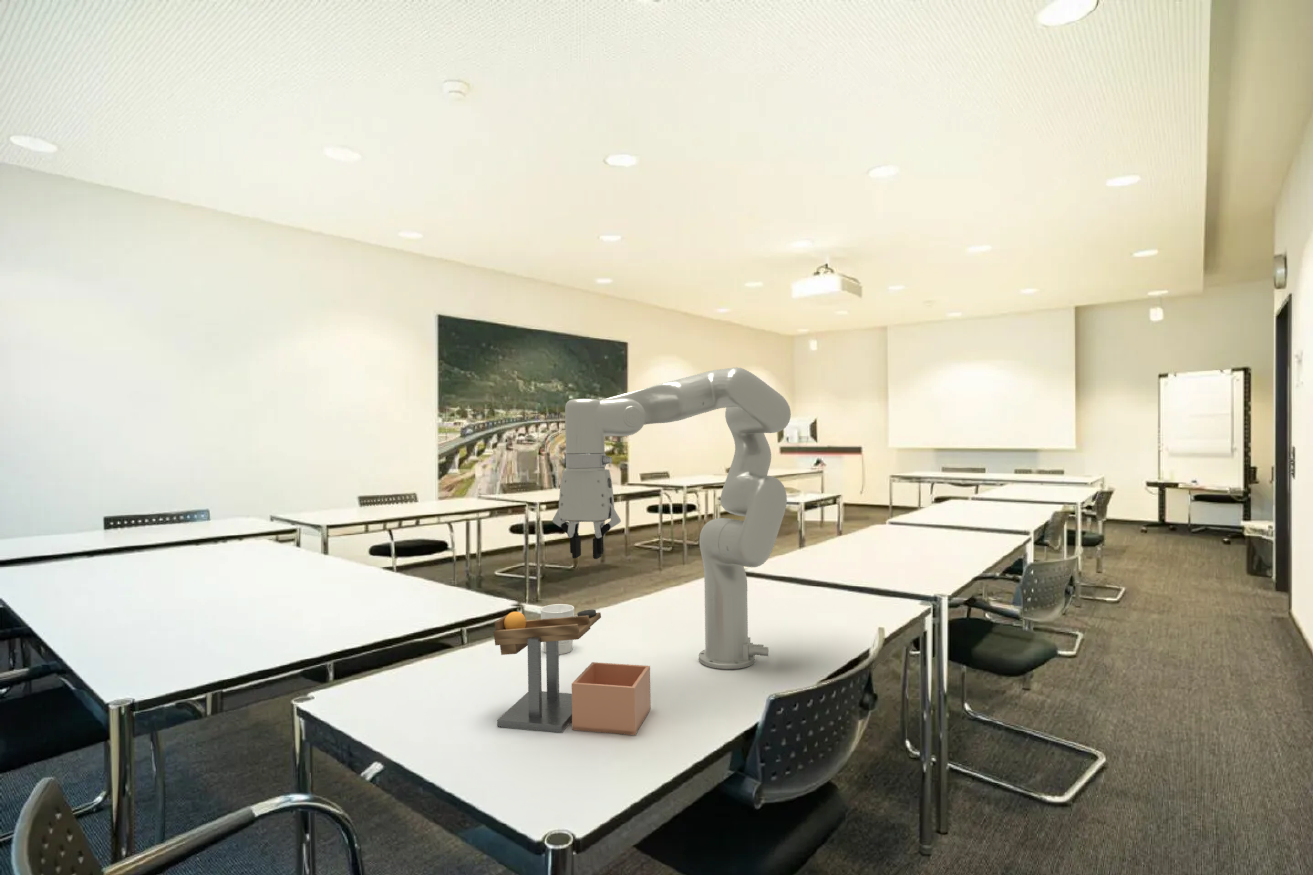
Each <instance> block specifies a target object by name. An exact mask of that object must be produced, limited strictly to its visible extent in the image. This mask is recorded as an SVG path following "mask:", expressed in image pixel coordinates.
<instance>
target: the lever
mask: <svg viewBox="0 0 1313 875" xmlns="http://www.w3.org/2000/svg"><path fill="white" fill-rule="evenodd" d="M507 615H508V614H506V615H503V617H501V618H499V619H497V620H495V621H494V628H495V630H494V631H493V638H494V646H499V647H500V655H501V656H503V655H504V656H505V655H516V654H518V653H520V652H521V651H522V650H523V649H525V648H527V647H528V638H530V637H538V638H541V643H543V642H549V641H563V640H573V641H575V640H579V639H581V638H583V636H584V635H585V634H586V633H587V632H589V631H590V630H591V627H592V626H593V625H595V623H597V621H599V620H600V619H601V618H602V613H601V612H600V611H599V612H597V609H585V610H581V611H578V612H577V615H576V616H575V615H574V617H561V618H549V619H541V618H540V619H526V626H525V628H520V629H507V630H506V629H505V626H504V620H505V618H506V616H507Z"/></svg>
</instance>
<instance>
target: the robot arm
mask: <svg viewBox="0 0 1313 875" xmlns="http://www.w3.org/2000/svg"><path fill="white" fill-rule="evenodd" d="M719 409H725V411H724V412H725V416H724V417H725V421H726V422H725V423H726V424H727V426H728V429H729V430H730V433H731V435H732V438H733V441H734V449H735V450H734V454H733V458H732V461H731V464H730V467H729V470H728V472H727V476H726V478H725V481H724V485H723V487H722V490H721V495H720V505H721V508H723V510H724V511H725V512H727V513H728V514H731V515H735V516H739V517H744V520H740V519H735V518H734V519H733V518H727V517H719V518H718V517H717V518H713V519H711V520H709V521H707V522H706V523H705V524H704V525H703V527H702V529H701V530H700V533H699V542H698V543H699V550H700V554H701V559H702V565H703V574H704V576H703V582H704V635H705V636H704V640H705V642H704V644H705V645H704V647H705V649H702V650H701V651H700V652H699V653H698V661H699V662H700V663H701V664H702V665H703V666H706V667H709V668H713V669H720V670H721V669H722V670H735V669H736V670H737V669H743V668H747V667H750V666H751V665H753V664H755V662H756V656H760V657H769V647H768V646H764V644H755V643H753V642H751V639H752V638H751V637H749V627H748V626H749V624H748V623H749V622H748V616H749V615H748V614H749V613H748V610H749V608H748V577H747V574H746V570H745V567H747V568H758V567H760V566H762V565H764V564H765V563H766V562H767V561H768V559H769V558H770V556H771V554H772V553H773V549H774V547H775V544H776V540H777V537H778V536H779V535H778V534H779V531H780V528H781V526H782V521H783V520H784V516H785V513H786V509H787V504H788V503H787V501H788V499H787V498H788V497H787V496H788V494H787V490H786V488H785V486H784V483H782V481H781V480H780V479H779V478H777V477H775V476H772V475H768V473H769V471H770V466H771V462H772V452H771V447H770V444H769V442H768V439H767V437H766V435H765V434H774V433H779V432H781V431H783V430H784V429H785V428H786V427H787V426H788V425H789V423H790V420H791V417H792V416H791V414H792V413H791V408H790V405H789V402H788V401H787V400H786V398H785V397H784V396H783V395H782V394H780V393H779V392H778V391H777V390H775V389H774V388H773V387H772V386H770V385H769V384H767V383H766V382H765V381H764V380H762V379H761V378H760V377H759V376H757V375H755V374H753V373H752V372H750V371H749V370H747V369H744V368H742V367H737V366H736V367H730V368H721V369H714V370H709V371H705V372H700V373H697V374H694V375H690V376H686V377H683V378H678V379H674V380H670V381H667V382H662V383H659V384H654V385H652V386H649V387H646V388H642V389H638V390H634V391H630V392H626V393H622V394H618V395H614V396H610V397H607V398H602V399H597V398H574V399H570V400H568V401H566V403H565V407H564V415H565V416H564V418H565V419H564V423H565V424H564V426H565V428H564V429H565V430H564V431H565V469H563V470H562V474H561V480H560V487H559V497H558V498H559V499H558V509H557V511H556V513H555V514H554V517H553V518H552V523H553V524H554V525H556V526H558V527H559V528H561V529H562V531H564V533H566V534H567V537H568V538H569V552H570V554H571V557H572V558H571V559H578V558H580V557H581V555H582V543H581V542H582V538H581V536H580V535H579V528H580V522H581V523H583V522H584V523H592V524H593V528H594V538H592V559H593V560H598V559H600V558H601V557H602V555H603V554H604V537H605V536H606V534H607V533H608V532H609V531H611V529H612V528H614V527H616V526H617V525H619V524H621V522H622V520H621V518H620V516H619V514H618V513H617V511H616V509H615V500H614V499H615V498H614V489H613V481H612V476H611V472H610V469H606V467H607V465H608V464H612V463H613V458H612V456H609V455H607V454H606V453H605V452H606V451H605V448H606V446H605V441H606V440H605V437H628V436H629V437H630V436H633V435H635V434H637V433H638V432H639V431H641V430H642V429H643V428H644V425H652V424H653V425H654V424H665V423H674V422H678V421H682V420H685V419H689V418H692V417H695V416H698V415H701V414H704V413H705V414H706V413H708V412H712V411H715V410H719ZM607 520H609V521H608V522H606V521H607ZM605 522H606V523H605Z"/></svg>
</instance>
